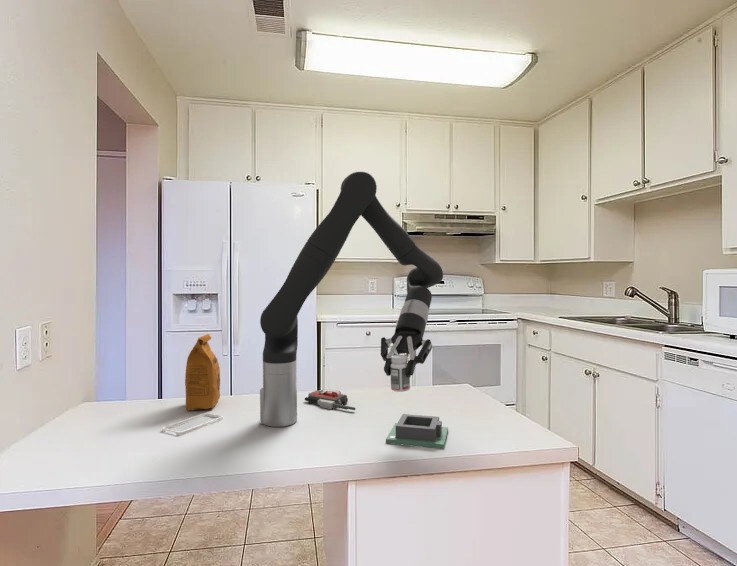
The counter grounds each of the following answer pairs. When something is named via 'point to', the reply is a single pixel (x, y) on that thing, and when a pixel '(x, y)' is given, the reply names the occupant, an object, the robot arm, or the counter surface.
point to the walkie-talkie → (329, 399)
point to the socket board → (418, 431)
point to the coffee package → (202, 376)
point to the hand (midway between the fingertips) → (397, 374)
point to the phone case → (191, 420)
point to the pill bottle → (399, 373)
